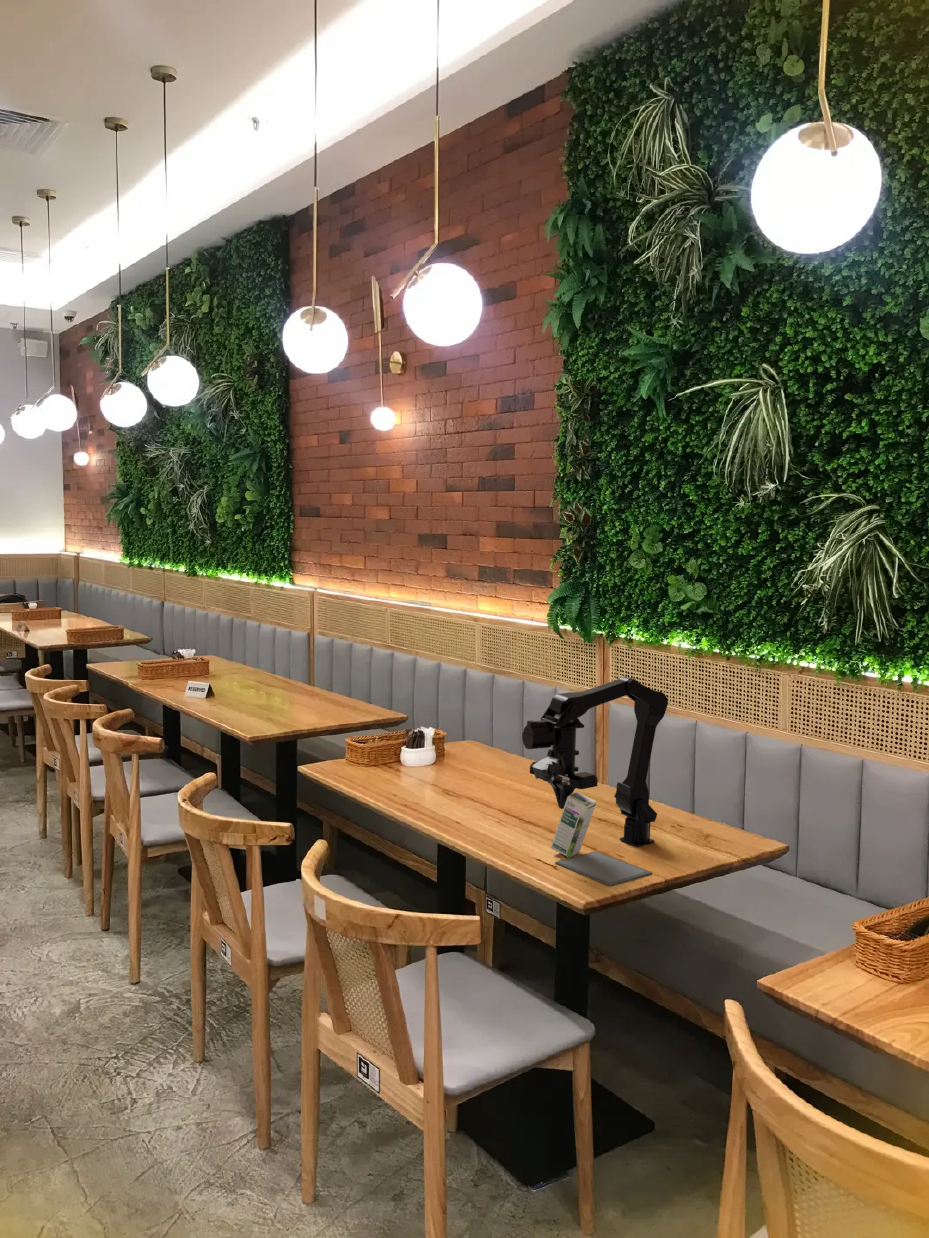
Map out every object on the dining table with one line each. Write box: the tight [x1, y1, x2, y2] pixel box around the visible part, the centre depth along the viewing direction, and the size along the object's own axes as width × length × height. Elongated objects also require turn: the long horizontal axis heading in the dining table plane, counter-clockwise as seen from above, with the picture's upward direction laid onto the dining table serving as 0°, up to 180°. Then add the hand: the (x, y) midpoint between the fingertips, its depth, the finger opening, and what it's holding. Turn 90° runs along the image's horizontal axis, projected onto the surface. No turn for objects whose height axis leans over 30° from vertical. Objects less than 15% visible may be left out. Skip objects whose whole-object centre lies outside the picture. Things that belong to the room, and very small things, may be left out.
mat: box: [554, 850, 653, 887], centre depth 226 cm, size 14×18×1 cm
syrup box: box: [550, 791, 598, 859], centre depth 234 cm, size 6×6×14 cm
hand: (561, 808), depth 236 cm, fingers closed
